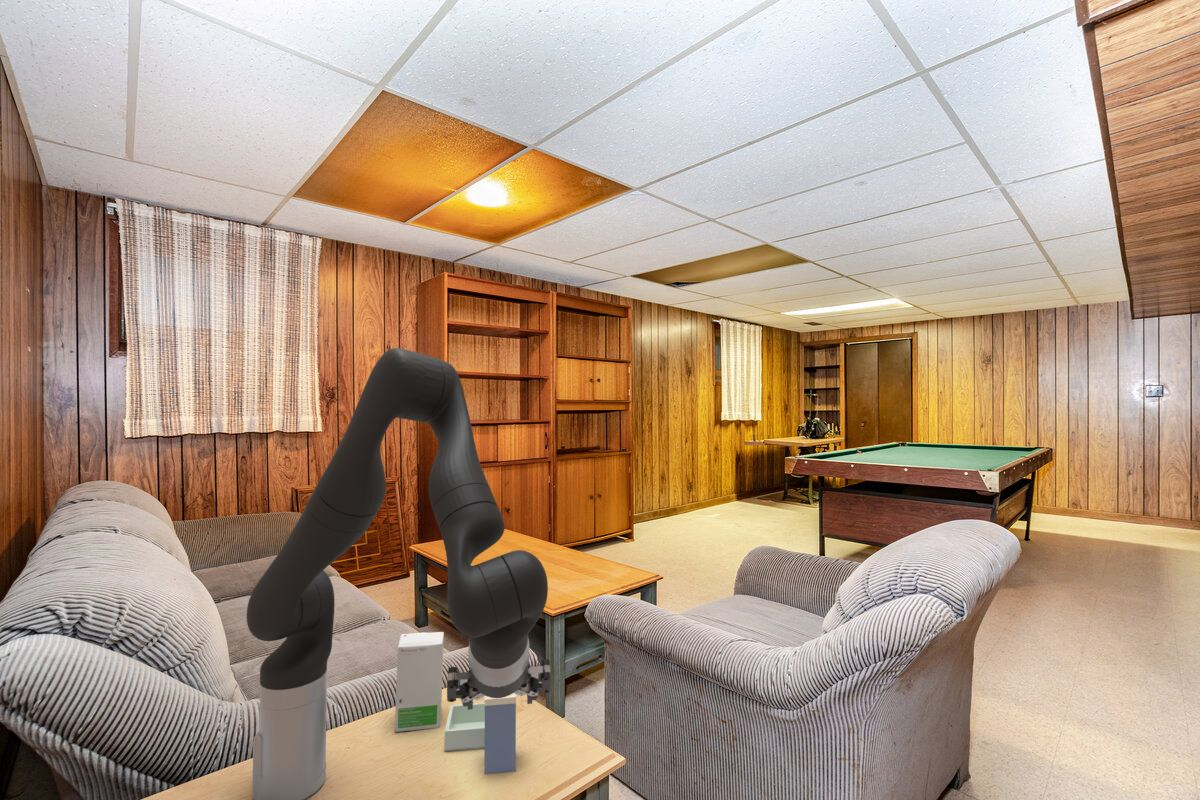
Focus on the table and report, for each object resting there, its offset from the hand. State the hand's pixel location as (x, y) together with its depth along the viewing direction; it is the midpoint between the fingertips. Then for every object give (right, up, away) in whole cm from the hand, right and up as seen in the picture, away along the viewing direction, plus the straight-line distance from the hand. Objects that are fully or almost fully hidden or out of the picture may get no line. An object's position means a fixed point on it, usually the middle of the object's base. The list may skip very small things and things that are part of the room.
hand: (500, 699), depth 81 cm
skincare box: (-20, -17, +23) cm, 35 cm away
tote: (-8, -17, +19) cm, 26 cm away
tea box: (-2, -17, +11) cm, 20 cm away
